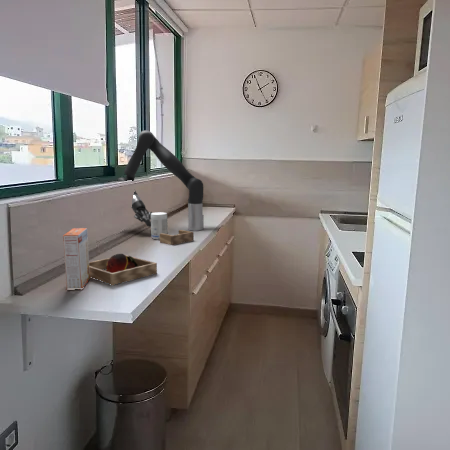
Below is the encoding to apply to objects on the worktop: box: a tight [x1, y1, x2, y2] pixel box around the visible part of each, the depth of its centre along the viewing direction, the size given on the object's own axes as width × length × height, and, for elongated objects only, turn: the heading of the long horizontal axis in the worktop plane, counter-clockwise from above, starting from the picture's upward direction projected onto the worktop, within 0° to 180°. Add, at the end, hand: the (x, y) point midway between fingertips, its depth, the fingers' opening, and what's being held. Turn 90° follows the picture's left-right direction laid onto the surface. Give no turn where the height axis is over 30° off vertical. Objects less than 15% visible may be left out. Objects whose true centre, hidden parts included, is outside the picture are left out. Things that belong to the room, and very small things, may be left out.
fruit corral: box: [89, 254, 158, 286], centre depth 180 cm, size 22×22×4 cm
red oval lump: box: [105, 253, 138, 273], centre depth 181 cm, size 12×12×15 cm
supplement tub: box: [150, 211, 169, 240], centre depth 253 cm, size 10×10×15 cm
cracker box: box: [62, 227, 91, 289], centre depth 164 cm, size 14×6×21 cm, turn 5°
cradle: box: [159, 229, 195, 246], centre depth 245 cm, size 16×10×5 cm, turn 139°
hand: (150, 225), depth 259 cm, fingers closed
